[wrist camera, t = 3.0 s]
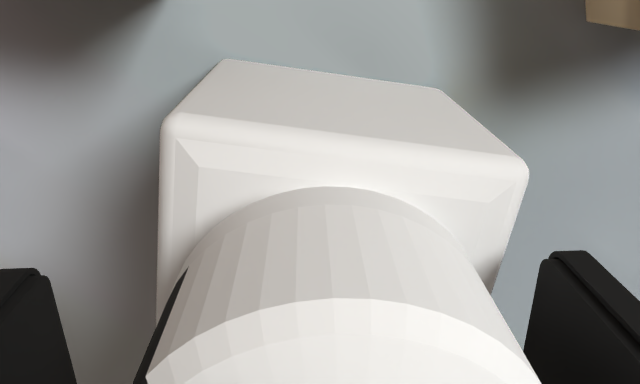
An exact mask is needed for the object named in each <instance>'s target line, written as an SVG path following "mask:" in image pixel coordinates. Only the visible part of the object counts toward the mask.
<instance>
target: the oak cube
mask: <svg viewBox="0 0 640 384" xmlns="http://www.w3.org/2000/svg"><path fill="white" fill-rule="evenodd" d="M585 4H586V20H587V22H592V23H598V24H604V25H610V26H616V27H622V28H627V29H633V30H639V31H640V0H585Z"/></svg>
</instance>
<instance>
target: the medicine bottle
mask: <svg viewBox="0 0 640 384" xmlns="http://www.w3.org/2000/svg"><path fill="white" fill-rule="evenodd" d="M528 181H529V170H528V167H527V165H526V164H525V162H524V160H523V159H521V158H520V157H519V156H518V155H517V154H516V153H514V152H513V151H512V150H511V149H510V148H508V147H507V146H506V145H505V144H504V143H503V142H501V141H500V140H499V139H498V138H497V137H496V136H494V135H493V134H492V133H491V132H490V131H488V130H487V129H486V128H485V127H484V126H483V125H481V124H480V123H479V122H478V121H477V120H476V119H474V118H473V117H472V116H471V115H470V114H468V113H467V112H466V111H465V110H464V109H463V108H461V107H460V106H459V105H458V104H457V103H455V102H454V101H453V100H452V99H451V98H450V97H448V96H447V95H446V94H445V93H444V92H443V91H441V90H439V89H437V88H431V87H424V86H417V85H410V84H403V83H396V82H389V81H382V80H375V79H368V78H361V77H354V76H347V75H340V74H333V73H326V72H319V71H312V70H305V69H298V68H291V67H284V66H277V65H270V64H263V63H256V62H249V61H242V60H235V59H223V60H221V61H220V62H219V63H218V64H217V65H216V66H215V67H214V68H213V69H212V70H211V71H210V72H209V73H208V74H207V75H206V76H205V77H204V78H203V79H202V80H201V81H200V82H199V83H198V84H197V85H196V86H195V87H194V88H193V89H192V90H191V91H190V92H189V94H188V95H187V96H186V97H185V98H184V99H183V100H182V101H181V102H180V103H179V104H178V105H177V106H176V107H175V108H174V109H173V110H172V111H171V112H170V113H169V114H168V115H167V116H166V117H165V118H164V119H163V122H162V125H161V128H160V161H159V206H158V250H157V295H156V329H155V332H154V334H153V336H152V339H151V341H150V343H149V346H148V348H147V351H146V353H145V355H144V358H143V360H142V363H141V365H140V367H139V370H138V372H137V374H136V377H135V379H134V382H133V384H541V382H540V380H539V379H538V377H537V375H536V373H535V372H534V370H533V368H532V367H531V365H530V363H529V361H528V360H527V358H526V356H525V354H524V353H523V351H522V349H521V348H520V346H519V344H518V342H517V341H516V339H515V337H514V335H513V334H512V332H511V330H510V329H509V327H508V325H507V323H506V322H505V320H504V318H503V316H502V315H501V313H500V311H499V310H498V308H497V306H496V304H495V303H494V301H493V299H492V297H491V293H492V290H493V287H494V283H495V280H496V277H497V274H498V271H499V268H500V265H501V262H502V259H503V256H504V253H505V250H506V247H507V244H508V241H509V238H510V235H511V232H512V229H513V226H514V223H515V220H516V217H517V214H518V211H519V208H520V205H521V202H522V199H523V196H524V193H525V190H526V187H527V184H528Z"/></svg>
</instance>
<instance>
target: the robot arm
mask: <svg viewBox="0 0 640 384" xmlns="http://www.w3.org/2000/svg"><path fill="white" fill-rule="evenodd" d="M523 353H524V354H525V356H526V358H527V360H528V361H529V363H530V365H531V367H532V368H533V370H534V372H535V373H536V375H537V377H538V379H539V380H540V382H541V384H640V301H639V300H638V299H637V298H635V297H634V296H633V295H632V294H631V293H630V292H629V291H628V290H627V289H626V288H625V287H624V286H623V285H622V284H621V283H620V282H619V281H618V280H617V279H616V278H614V277H613V276H612V275H611V274H610V273H609V272H608V271H607V270H606V269H605V268H604V267H603V266H602V265H601V264H600V263H599V262H598V261H597V260H596V259H595V258H594V257H592V256H591V255H590V254H589V253H588V252H586V251H582V250H580V251H554V252H553V253H551V255H550V256H549V258H548V259H544V260H543V261H542V262H541V264H540V268H539V273H538V278H537V283H536V289H535V294H534V299H533V304H532V309H531V314H530V319H529V324H528V330H527V335H526V340H525V345H524V350H523ZM0 384H77V382H76V378H75V375H74V371H73V367H72V363H71V359H70V355H69V352H68V348H67V344H66V340H65V336H64V333H63V329H62V325H61V321H60V317H59V313H58V310H57V306H56V302H55V298H54V294H53V291H52V287H51V283H50V280H49V278H48V277H47V276H45V275H40V273H39V271H38V270H37V269H35V268H16V269H0Z"/></svg>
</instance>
